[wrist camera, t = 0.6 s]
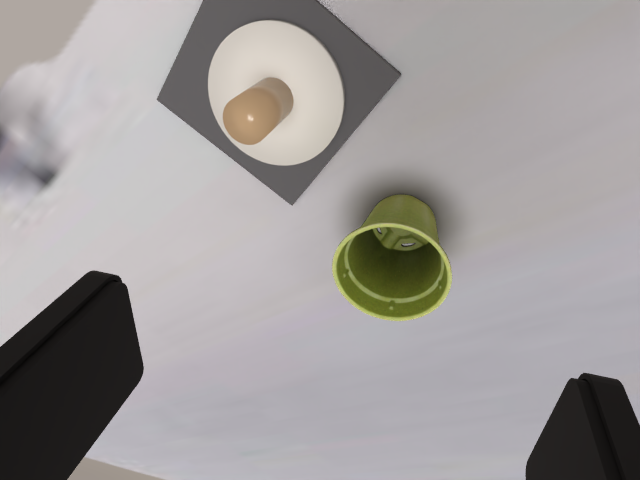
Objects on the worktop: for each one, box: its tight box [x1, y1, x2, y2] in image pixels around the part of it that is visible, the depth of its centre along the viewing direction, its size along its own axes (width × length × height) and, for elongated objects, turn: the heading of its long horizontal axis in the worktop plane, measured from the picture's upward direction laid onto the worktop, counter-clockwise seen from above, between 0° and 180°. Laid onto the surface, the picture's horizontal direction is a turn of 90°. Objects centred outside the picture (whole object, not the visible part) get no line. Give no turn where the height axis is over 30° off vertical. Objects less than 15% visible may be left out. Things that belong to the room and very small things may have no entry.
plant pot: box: [332, 195, 452, 321], centre depth 39 cm, size 9×9×9 cm
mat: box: [157, 0, 401, 205], centre depth 39 cm, size 16×16×1 cm
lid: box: [208, 19, 345, 166], centre depth 36 cm, size 12×12×7 cm
